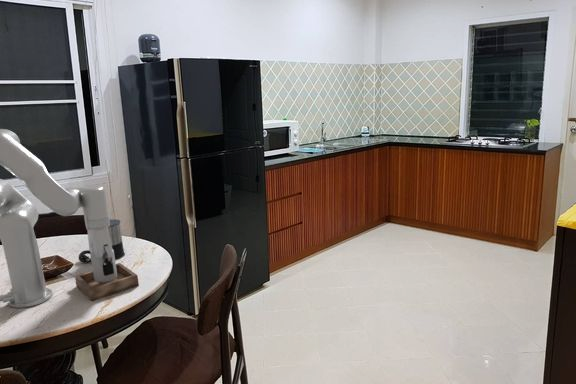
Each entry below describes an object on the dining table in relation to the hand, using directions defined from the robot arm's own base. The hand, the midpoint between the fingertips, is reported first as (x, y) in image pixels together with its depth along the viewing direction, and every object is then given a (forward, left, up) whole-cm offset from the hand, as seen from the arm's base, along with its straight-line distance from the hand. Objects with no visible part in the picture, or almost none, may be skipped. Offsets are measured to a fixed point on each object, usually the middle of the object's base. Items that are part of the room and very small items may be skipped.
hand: (104, 270), depth 154 cm
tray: (0, 0, -6) cm, 6 cm away
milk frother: (+8, +29, -6) cm, 31 cm away
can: (0, 0, -4) cm, 4 cm away
